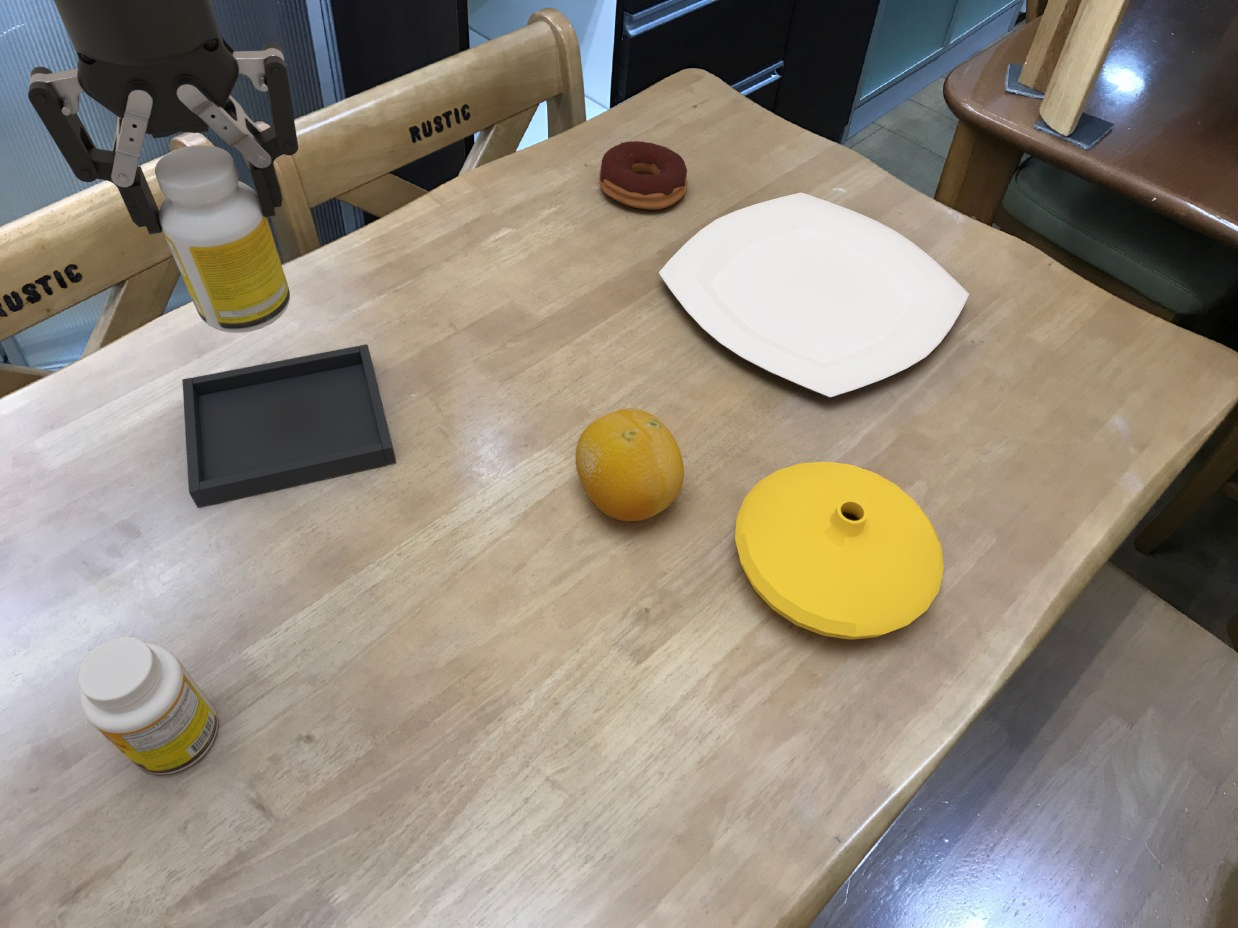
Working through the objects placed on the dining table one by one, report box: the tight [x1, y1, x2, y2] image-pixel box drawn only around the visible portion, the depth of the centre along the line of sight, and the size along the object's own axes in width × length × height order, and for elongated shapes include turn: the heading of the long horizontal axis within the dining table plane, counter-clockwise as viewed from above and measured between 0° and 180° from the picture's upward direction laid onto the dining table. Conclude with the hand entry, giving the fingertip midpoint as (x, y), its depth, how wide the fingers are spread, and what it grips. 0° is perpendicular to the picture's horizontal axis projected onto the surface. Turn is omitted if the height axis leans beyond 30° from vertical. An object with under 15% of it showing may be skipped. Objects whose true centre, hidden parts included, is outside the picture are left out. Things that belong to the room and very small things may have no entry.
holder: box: [181, 343, 397, 508], centre depth 74 cm, size 16×13×2 cm
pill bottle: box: [154, 144, 291, 334], centre depth 60 cm, size 6×6×12 cm
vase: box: [734, 461, 945, 640], centre depth 66 cm, size 16×16×7 cm
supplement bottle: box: [77, 636, 219, 775], centre depth 54 cm, size 6×6×10 cm
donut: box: [598, 140, 688, 211], centre depth 98 cm, size 10×10×4 cm
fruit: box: [575, 408, 685, 522], centre depth 69 cm, size 9×8×8 cm
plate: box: [658, 192, 970, 399], centre depth 88 cm, size 27×27×2 cm
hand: (213, 217), depth 58 cm, fingers closed on pill bottle, 6 cm apart
